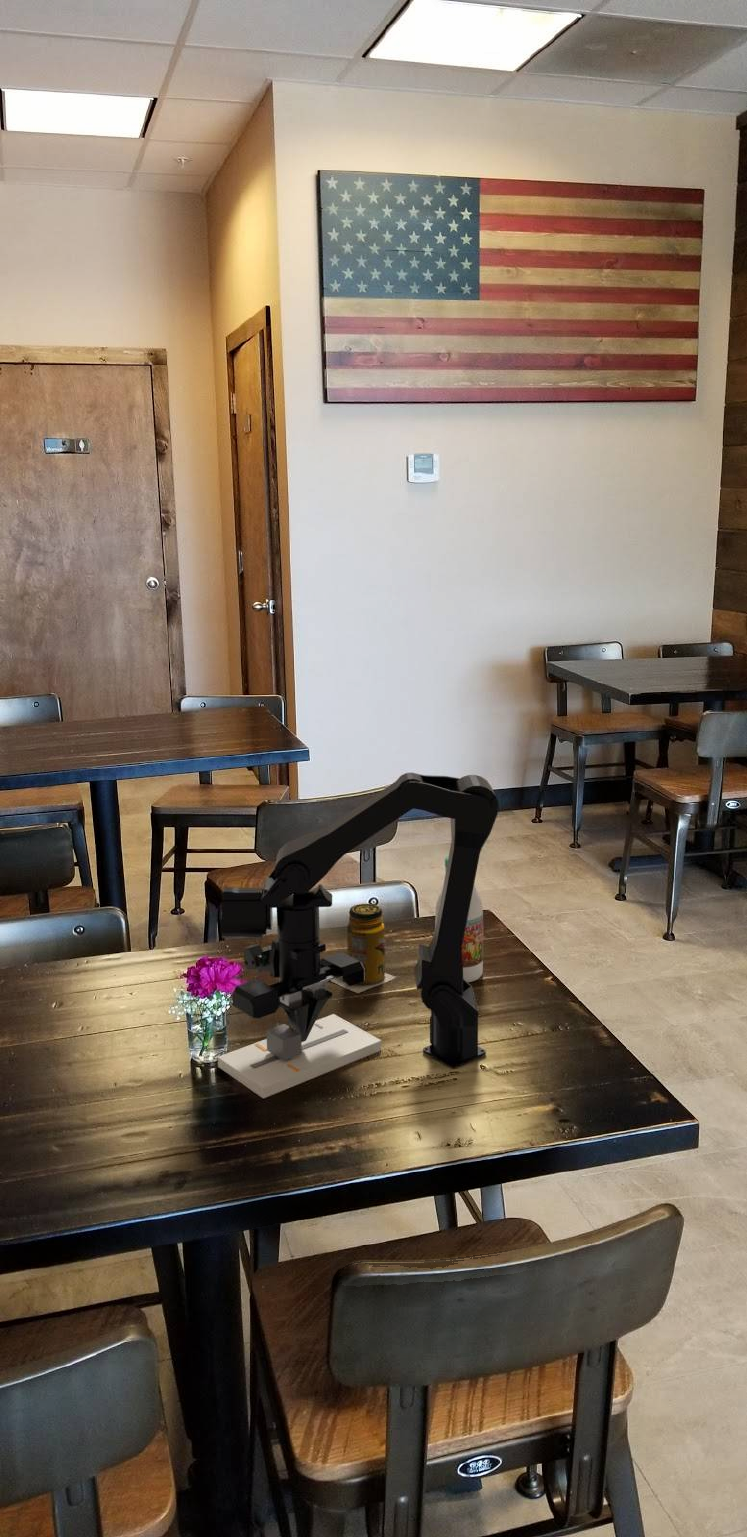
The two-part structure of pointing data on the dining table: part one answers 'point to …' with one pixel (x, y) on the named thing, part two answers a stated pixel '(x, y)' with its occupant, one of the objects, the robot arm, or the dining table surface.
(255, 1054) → the console
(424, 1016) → the dining table surface
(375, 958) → the condiment
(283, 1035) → the fader
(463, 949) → the milk bottle
